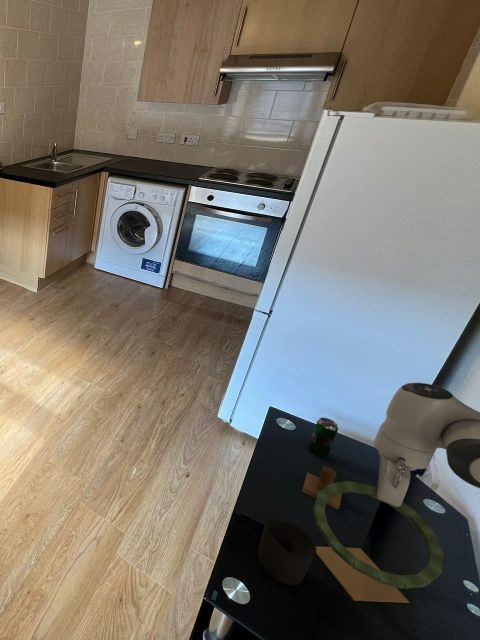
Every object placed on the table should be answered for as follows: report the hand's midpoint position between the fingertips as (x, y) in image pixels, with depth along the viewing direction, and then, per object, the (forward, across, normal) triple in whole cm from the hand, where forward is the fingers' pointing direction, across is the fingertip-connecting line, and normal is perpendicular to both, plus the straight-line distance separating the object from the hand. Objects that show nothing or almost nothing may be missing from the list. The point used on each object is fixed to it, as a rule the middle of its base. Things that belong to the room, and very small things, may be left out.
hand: (382, 494), depth 96 cm
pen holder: (+17, -21, +13) cm, 30 cm away
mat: (+17, -9, 0) cm, 19 cm away
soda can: (+17, +33, +12) cm, 39 cm away
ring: (+5, -8, 0) cm, 9 cm away
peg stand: (+17, +14, +9) cm, 23 cm away
